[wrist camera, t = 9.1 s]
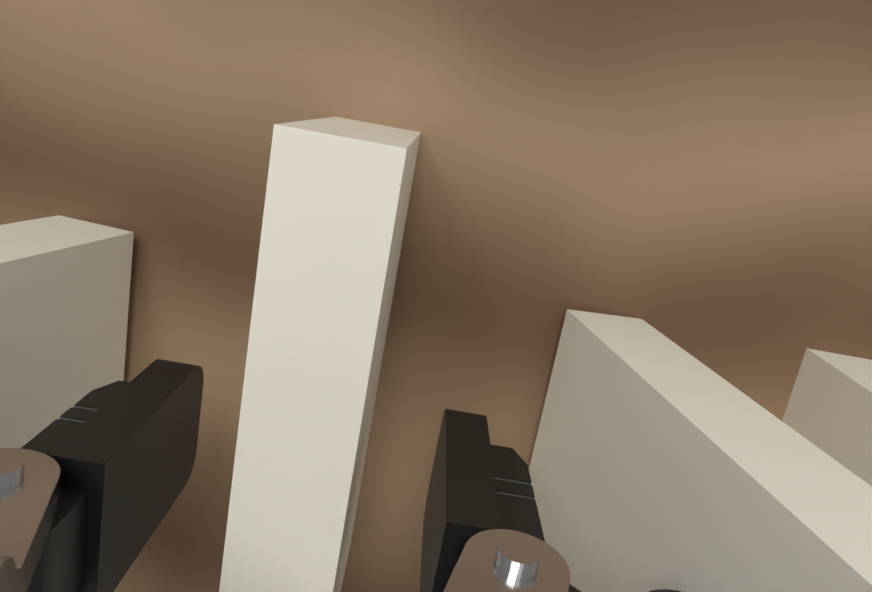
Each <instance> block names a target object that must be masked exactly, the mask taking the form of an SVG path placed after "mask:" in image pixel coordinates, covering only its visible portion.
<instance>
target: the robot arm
mask: <svg viewBox="0 0 872 592" xmlns="http://www.w3.org/2000/svg"><path fill="white" fill-rule="evenodd" d="M203 382H204V374H203V369H202V367H201V366H197V365H192V364H186V363H180V362H174V361H168V360H163V359H156V360H154V361H153V362H152V363H151V364H150V365H149V366H148V367H146V368H145V369H144V370H143V371H142V372H141V373H140V374H139V375H137V376H136V377H135V378H134V379H133V380H132V381H131V382H125V381H116V382H113V383H111V384H108V385H105V386H102V387H100V388H97V389H94V390H92V391H90V392H89V393H88V394H87V395H86V396H84V397H83V398H82V399H81V400H79V401H78V402H77V403H76V404H75V405H74V408H73V407H71V408H70V409H68V410H67V411H66V412H65V413H63V414H62V415H61V416H60V419H56V420H55V421H53V422H52V423H51V424H50V425H49V426H47V427H46V428H45V429H44V430H42V431H41V432H40V433H39V434H37V435H36V436H35V437H34V438H33V439H31V440H30V441H29V442H28V443H26V444H25V445H24V446H23V447H21V448H0V592H113V591H114V590H115V589H116V587H117V586H118V584H119V583H120V581H121V580H122V578H123V577H124V575H125V574H126V572H127V571H128V569H129V568H130V567H131V565H132V564H133V562H134V561H135V559H136V558H137V556H138V555H139V553H140V552H141V550H142V549H143V547H144V546H145V544H146V543H147V542H148V540H149V539H150V537H151V536H152V534H153V533H154V531H155V530H156V528H157V527H158V525H159V524H160V522H161V521H162V519H163V518H164V517H165V515H166V514H167V512H168V511H169V509H170V508H171V506H172V505H173V503H174V502H175V500H176V499H177V497H178V496H179V494H180V493H181V492H182V490H183V489H184V487H185V485H186V484H187V482H188V480H189V477H190V475H191V472H192V469H193V465H194V461H195V457H196V451H197V442H198V432H199V422H200V412H201V402H202V392H203ZM531 483H532V482H531V477H530V473H529V469H528V465H527V464H526V463H525V461H524V460H523V459H522V458H521V457H520V456H519V455H518V454H517V453H516V451H515V450H514V449H513V448H509V447H503V446H497V445H492V444H490V438H489V430H488V422H487V416H486V415H480V414H474V413H468V412H462V411H457V410H451V409H445V411H444V414H443V418H442V423H441V428H440V433H439V438H438V443H437V448H436V453H435V458H434V463H433V468H432V473H431V478H430V483H429V488H428V494H427V500H426V506H425V513H424V522H423V537H422V556H421V575H420V592H581V591H579V590H578V589H576V588H575V587H573V586H572V585H571V584H570V578H571V573H570V569H569V566H568V564H567V562H566V561H565V559H564V558H563V557H562V555H561V554H560V553H559V552H558V551H557V550H555V549H554V548H553V547H552V546H550V545H549V544H547V543H546V542H545V539H544V535H543V530H542V526H541V522H540V517H539V513H538V508H537V504H536V500H534V499H535V495H534V491H533V486H531ZM649 592H681V591H677V590H669V589H658V590H652V591H649Z"/></svg>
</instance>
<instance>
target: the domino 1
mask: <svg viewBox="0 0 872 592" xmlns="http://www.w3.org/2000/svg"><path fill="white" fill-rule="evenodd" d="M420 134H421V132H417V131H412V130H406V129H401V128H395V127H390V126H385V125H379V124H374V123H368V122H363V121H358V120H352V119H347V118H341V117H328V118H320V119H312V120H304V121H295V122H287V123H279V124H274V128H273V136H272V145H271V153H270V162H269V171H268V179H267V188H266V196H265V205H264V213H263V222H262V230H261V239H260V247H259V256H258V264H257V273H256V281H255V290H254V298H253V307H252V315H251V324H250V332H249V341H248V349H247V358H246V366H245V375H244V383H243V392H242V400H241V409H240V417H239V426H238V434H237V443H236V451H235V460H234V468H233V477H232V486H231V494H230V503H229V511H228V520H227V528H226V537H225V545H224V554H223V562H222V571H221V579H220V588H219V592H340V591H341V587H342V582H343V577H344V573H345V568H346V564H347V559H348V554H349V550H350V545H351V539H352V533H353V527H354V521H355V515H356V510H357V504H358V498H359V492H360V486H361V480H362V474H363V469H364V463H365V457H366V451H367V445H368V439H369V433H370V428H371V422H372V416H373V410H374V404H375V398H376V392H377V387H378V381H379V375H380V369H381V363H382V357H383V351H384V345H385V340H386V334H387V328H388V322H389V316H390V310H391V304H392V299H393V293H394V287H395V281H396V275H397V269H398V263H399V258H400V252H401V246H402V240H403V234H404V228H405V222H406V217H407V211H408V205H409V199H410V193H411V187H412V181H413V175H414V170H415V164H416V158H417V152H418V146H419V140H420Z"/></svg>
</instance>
